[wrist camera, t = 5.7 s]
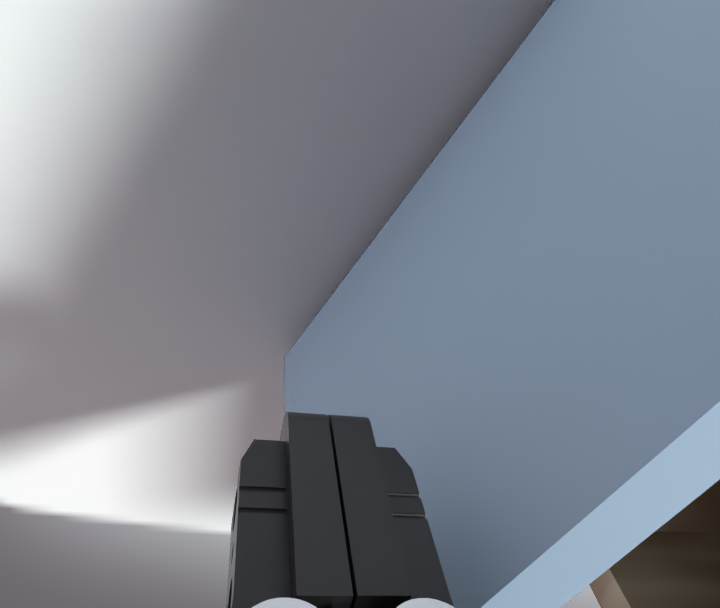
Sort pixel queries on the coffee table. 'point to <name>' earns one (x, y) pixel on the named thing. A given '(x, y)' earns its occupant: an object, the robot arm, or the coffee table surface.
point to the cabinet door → (548, 307)
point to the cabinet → (670, 563)
